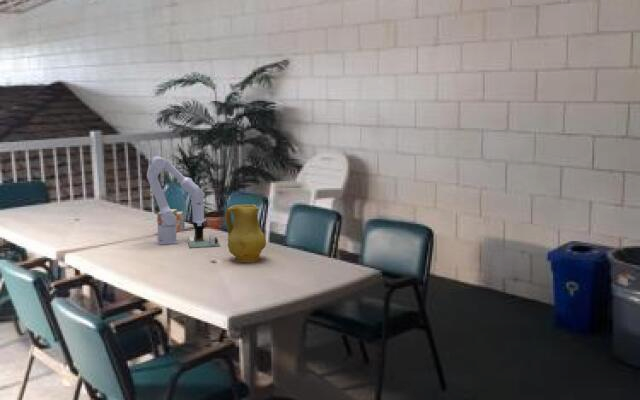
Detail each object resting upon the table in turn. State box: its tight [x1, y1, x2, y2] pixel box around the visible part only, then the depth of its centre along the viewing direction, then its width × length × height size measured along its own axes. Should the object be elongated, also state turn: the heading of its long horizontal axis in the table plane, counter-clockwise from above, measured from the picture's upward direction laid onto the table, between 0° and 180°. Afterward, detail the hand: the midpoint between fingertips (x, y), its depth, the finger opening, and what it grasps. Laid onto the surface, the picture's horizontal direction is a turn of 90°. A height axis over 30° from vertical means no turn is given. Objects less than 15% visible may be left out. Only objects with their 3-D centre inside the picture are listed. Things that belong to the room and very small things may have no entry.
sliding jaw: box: [208, 234, 219, 245], centre depth 326 cm, size 4×10×3 cm, turn 15°
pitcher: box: [224, 204, 267, 264], centre depth 295 cm, size 17×19×25 cm
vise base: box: [187, 235, 221, 249], centre depth 325 cm, size 15×12×4 cm
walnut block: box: [194, 229, 204, 242], centre depth 336 cm, size 4×5×5 cm
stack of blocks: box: [156, 208, 186, 233], centre depth 357 cm, size 21×6×12 cm, turn 169°
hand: (199, 237), depth 336 cm, fingers closed on walnut block, 5 cm apart
